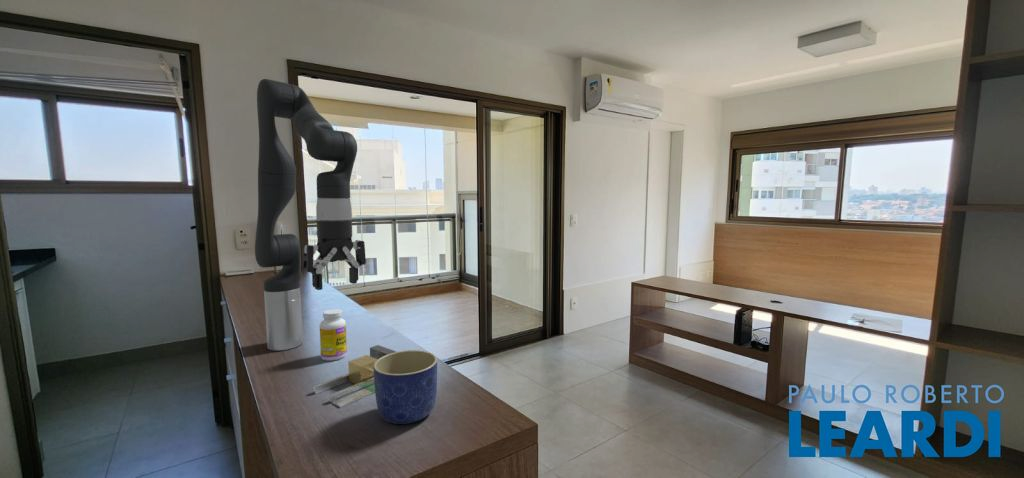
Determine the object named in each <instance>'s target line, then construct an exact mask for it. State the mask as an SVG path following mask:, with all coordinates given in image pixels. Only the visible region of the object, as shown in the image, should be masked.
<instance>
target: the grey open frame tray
mask: <svg viewBox="0 0 1024 478" xmlns="http://www.w3.org/2000/svg"><path fill="white" fill-rule="evenodd" d="M394 352H397V351H396V350H393V349H391V348H387V347H385V346H382V345H378V344H377V345H374V346H370V347H369V356H371V357H373V358H376V359H379V358H381V357H383V356H385V355H388V354H391V353H394ZM348 382H350V381H349V372H348V373H346V374H343V375H339V376H337V377H334V378H332V379H329V380H326V381H324V382H321V383H319V384H316V385H313V386H312V387H313V389H312V390H313V394H316V395H317V394H319V393H322V392H324V391H327V390H329V389H332V388H335V387H338V386H340V385H343V384H345V383H348ZM374 393H375V383H374V377H373V378H370V379H368V380H365V381H363V382H360V383H358V384H353V385H351V386H347V387H346V388H343V389H341V390H339V391H335V392H334V393H331V394H329V402H330V403H332V405H335V406H336V407H338V408H343V407H345V406H347V405H349V404H351V403H355V402H357V401H358V400H361V399H363V398H365V397H367V396H370V395H372V394H374Z"/></svg>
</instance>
